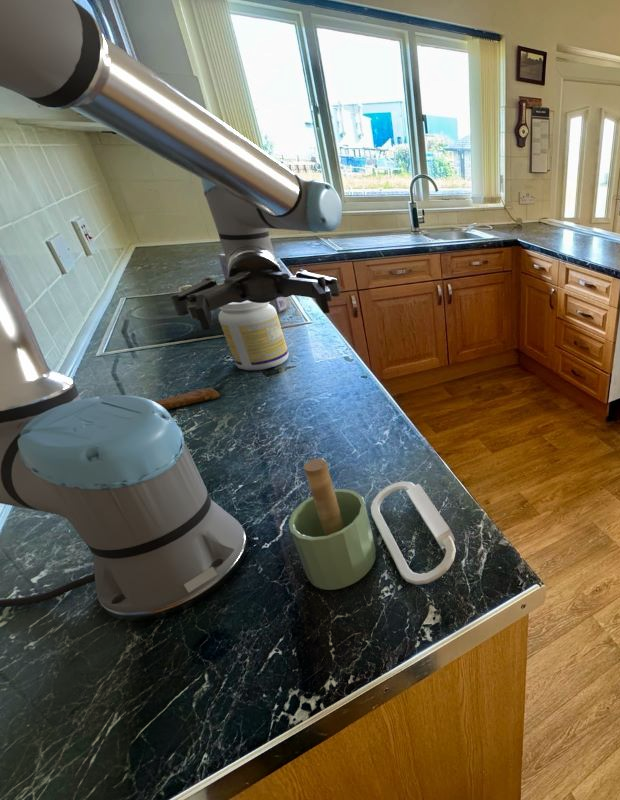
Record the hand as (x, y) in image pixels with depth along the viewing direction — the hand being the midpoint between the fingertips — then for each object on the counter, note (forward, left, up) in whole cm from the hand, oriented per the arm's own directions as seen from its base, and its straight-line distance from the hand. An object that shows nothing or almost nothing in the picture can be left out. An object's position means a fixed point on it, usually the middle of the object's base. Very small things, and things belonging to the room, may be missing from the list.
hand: (267, 311), depth 54 cm
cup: (0, -17, -30) cm, 34 cm away
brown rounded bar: (-23, +43, -30) cm, 58 cm away
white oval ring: (+10, -17, -30) cm, 36 cm away
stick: (0, -17, -30) cm, 34 cm away
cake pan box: (-1, +108, -30) cm, 112 cm away
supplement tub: (-4, +59, -30) cm, 67 cm away
